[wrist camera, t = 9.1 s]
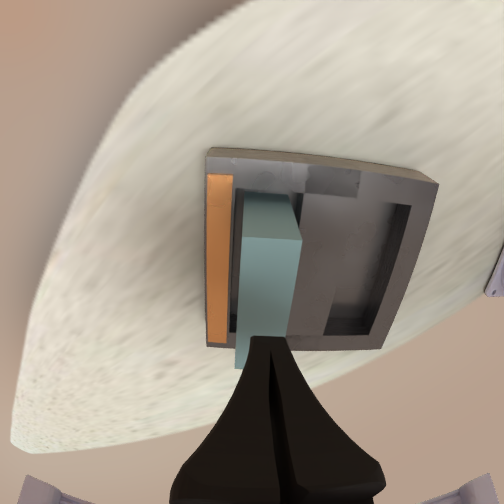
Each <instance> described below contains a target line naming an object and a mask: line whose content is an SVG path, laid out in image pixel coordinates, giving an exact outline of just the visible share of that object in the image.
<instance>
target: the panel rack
mask: <svg viewBox="0 0 504 504" xmlns="http://www.w3.org/2000/svg"><path fill="white" fill-rule="evenodd" d="M438 187H439V184H438V183H437V182H435V181H434V180H432V179H431V178H429V177H428V176H426V175H424V174H423V173H421V172H419V171H414V170H409V169H403V168H398V167H392V166H387V165H381V164H375V163H368V162H362V161H355V160H348V159H341V158H333V157H325V156H317V155H308V154H298V153H288V152H276V151H264V150H250V149H232V148H211V149H210V151H209V152H208V154H207V156H206V162H205V234H204V240H205V313H206V344H207V347H218V348H234V349H236V331H237V312H238V293H239V276H240V259H241V242H242V226H243V210H244V194H245V192H260V193H274V194H287V195H288V196H289V199H290V202H291V205H292V209H293V212H294V215H295V218H296V221H297V224H298V228H299V231H300V234H301V237H302V246H301V252H300V259H299V264H298V270H297V276H296V282H295V288H294V293H293V299H292V304H291V310H290V315H289V320H288V325H287V331H286V336H285V338H286V340H287V343H288V346H289V348H290V351H341V350H373V349H381V347H382V345H383V343H384V341H385V339H386V337H387V334H388V332H389V330H390V328H391V325H392V323H393V321H394V318H395V316H396V314H397V311H398V309H399V306H400V304H401V301H402V299H403V296H404V294H405V291H406V289H407V286H408V283H409V281H410V278H411V275H412V272H413V270H414V267H415V264H416V261H417V258H418V255H419V252H420V249H421V246H422V243H423V240H424V237H425V234H426V230H427V227H428V224H429V220H430V217H431V213H432V210H433V206H434V202H435V199H436V195H437V191H438Z"/></svg>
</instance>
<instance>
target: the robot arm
mask: <svg viewBox="0 0 504 504" xmlns="http://www.w3.org/2000/svg"><path fill="white" fill-rule="evenodd" d="M485 294H486V296H488V297H494V296H504V248H503V250H502V253H501V255H500V258H499V260H498V263H497V265H496V268H495V270H494V272H493V274H492V277H491V279H490V281H489V283H488V286H487V288H486V290H485ZM385 486H386V481H385V477H384V474H383V471H382V469H381V466H380V464H379V462H378V461H376V460H375V459H374V458H372V457H371V456H370V455H369V454H367V453H366V452H365V451H364V450H363V449H361V448H360V447H359V446H358V445H357V444H356V443H355V442H354V441H353V440H351V439H350V438H349V437H348V435H347V434H346V433H345V432H344V431H343V430H342V429H341V428H340V427H339V426H338V425H337V424H336V423H335V422H334V421H333V419H332V418H331V417H330V416H329V414H328V413H327V412H326V411H325V409H324V408H323V407H322V405H321V404H320V403H319V401H318V400H317V398H316V397H315V395H314V394H313V392H312V390H311V389H310V387H309V386H308V384H307V382H306V381H305V379H304V377H303V375H302V373H301V371H300V370H299V368H298V366H297V364H296V362H295V360H294V357H293V355H292V353H291V351H290V348H289V346H288V343H287V340H286V338H285V337H283V336H255V335H253V336H252V337H250V346H249V352H248V356H247V360H246V363H245V366H244V369H243V371H242V374H241V377H240V379H239V381H238V384H237V386H236V388H235V390H234V393H233V395H232V397H231V399H230V400H229V402H228V404H227V406H226V408H225V410H224V411H223V413H222V415H221V416H220V418H219V419H218V421H217V423H216V424H215V426H214V427H213V429H212V430H211V431H210V433H209V434H208V435H207V437H206V438H205V439H204V441H203V442H202V443H201V445H200V446H199V447H198V448H197V450H196V451H195V452H194V453H193V454H192V455H191V456H190V457H189V459H188V460H187V461H186V462H185V463H184V464H183V465H182V467H181V469H180V471H179V473H178V474H177V476H176V478H175V480H174V482H173V485H172V487H171V491H170V500H169V504H374V502H373V497H374V496H375V495H376V494H378V493H379V492H381V491H382V490H383V489H384V488H385ZM17 504H94V503H90V502H88V501H84V500H81V499H79V498H75V497H73V496H70V495H67V494H65V493H62V492H61V491H60V490H59V489H57V488H56V487H54V486H52V485H50V484H48V483H46V482H43V481H41V480H38V479H36V478H34V477H32V476H29V475H26V477H25V480H24V483H23V487H22V490H21V493H20V496H19V500H18V503H17ZM418 504H499V501H498V498H497V495H496V492H495V488H494V485H493V482H492V480H491V476H490V474H489V473H487V474H485V475H482V476H480V477H478V478H476V479H474V480H471V481H469V482H468V483H466V484H464V485H463V486H461V487H460V488H459V489H457V490H455V491H452V492H449V493H447V494H444V495H441V496H438V497H436V498H433V499H430V500H427V501H424V502H421V503H418Z"/></svg>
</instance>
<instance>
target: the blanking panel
mask: <svg viewBox="0 0 504 504" xmlns="http://www.w3.org/2000/svg"><path fill="white" fill-rule="evenodd" d="M301 246H302V237H301V234H300V231H299V228H298V224H297V221H296V218H295V215H294V212H293V209H292V205H291V202H290V199H289V196H288V195H287V194H274V193H260V192H245V194H244V210H243V226H242V242H241V259H240V276H239V293H238V312H237V331H236V351H235V369H244V366H245V363H246V360H247V356H248V352H249V346H250V337H252V336H253V335H255V336H283V337H285V336H286V331H287V325H288V320H289V315H290V310H291V304H292V299H293V293H294V288H295V282H296V276H297V270H298V264H299V259H300V252H301Z"/></svg>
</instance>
